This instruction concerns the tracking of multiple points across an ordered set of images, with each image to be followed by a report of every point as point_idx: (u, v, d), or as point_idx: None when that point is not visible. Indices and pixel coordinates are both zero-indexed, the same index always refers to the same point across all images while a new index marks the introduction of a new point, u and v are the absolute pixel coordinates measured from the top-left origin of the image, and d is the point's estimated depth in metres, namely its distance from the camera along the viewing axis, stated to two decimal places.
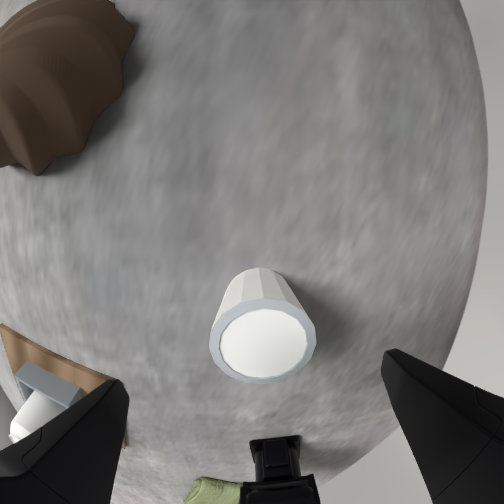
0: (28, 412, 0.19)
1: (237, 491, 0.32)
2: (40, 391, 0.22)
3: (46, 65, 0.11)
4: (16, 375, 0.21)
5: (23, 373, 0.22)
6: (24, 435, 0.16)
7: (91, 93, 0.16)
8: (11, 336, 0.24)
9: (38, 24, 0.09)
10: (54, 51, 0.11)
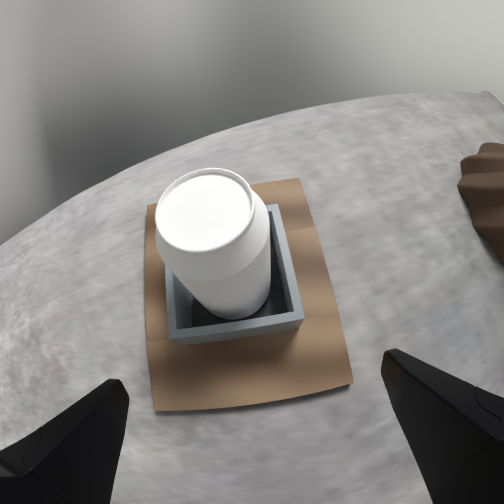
0: None
1: None
2: (289, 258, 0.19)
3: None
4: None
5: None
6: (260, 218, 0.13)
7: None
8: (301, 201, 0.26)
9: None
10: None
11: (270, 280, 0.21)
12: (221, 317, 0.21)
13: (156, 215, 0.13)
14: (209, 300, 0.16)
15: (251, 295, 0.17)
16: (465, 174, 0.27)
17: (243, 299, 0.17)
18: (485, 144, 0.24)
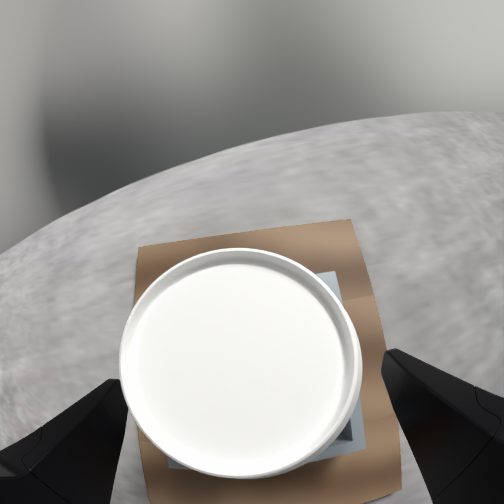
0: None
1: None
2: None
3: None
4: None
5: None
6: None
7: None
8: (355, 254, 0.18)
9: None
10: None
11: None
12: None
13: (121, 365, 0.05)
14: None
15: None
16: None
17: None
18: None
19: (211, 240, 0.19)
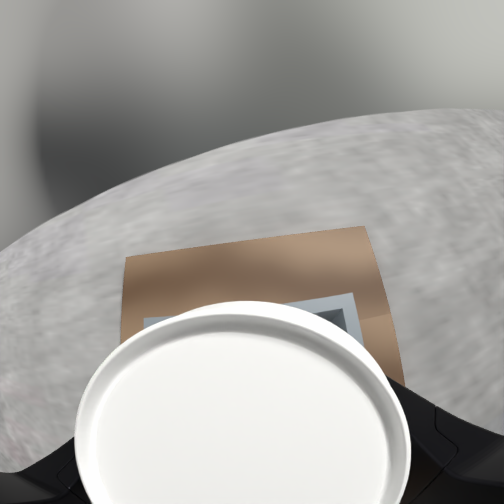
0: None
1: None
2: None
3: None
4: None
5: None
6: None
7: None
8: (370, 267, 0.16)
9: None
10: None
11: None
12: None
13: (80, 462, 0.02)
14: None
15: None
16: None
17: None
18: None
19: (207, 250, 0.17)
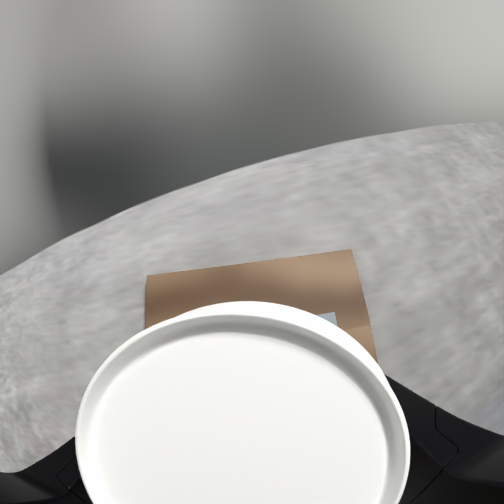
0: None
1: None
2: None
3: None
4: None
5: None
6: None
7: None
8: (354, 285, 0.19)
9: None
10: None
11: None
12: None
13: (80, 462, 0.03)
14: None
15: None
16: None
17: None
18: None
19: (217, 271, 0.20)
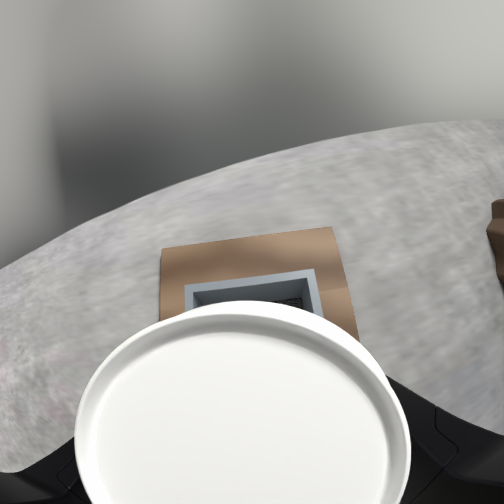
0: None
1: None
2: None
3: None
4: None
5: None
6: None
7: None
8: (334, 255, 0.23)
9: None
10: None
11: None
12: None
13: (80, 462, 0.02)
14: None
15: None
16: (495, 218, 0.24)
17: None
18: None
19: (221, 243, 0.25)
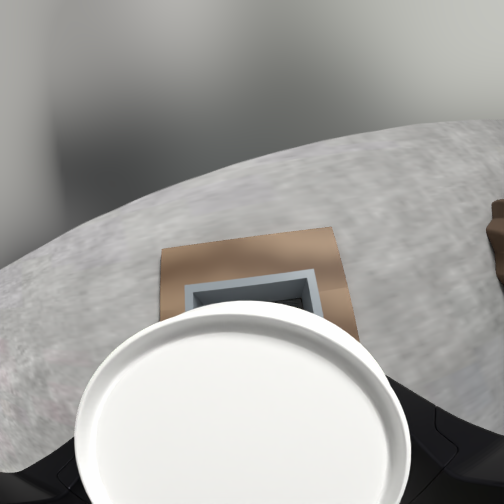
0: None
1: None
2: None
3: None
4: None
5: None
6: None
7: None
8: (334, 255, 0.23)
9: None
10: None
11: None
12: None
13: (79, 462, 0.02)
14: None
15: None
16: (495, 218, 0.24)
17: None
18: None
19: (221, 243, 0.25)
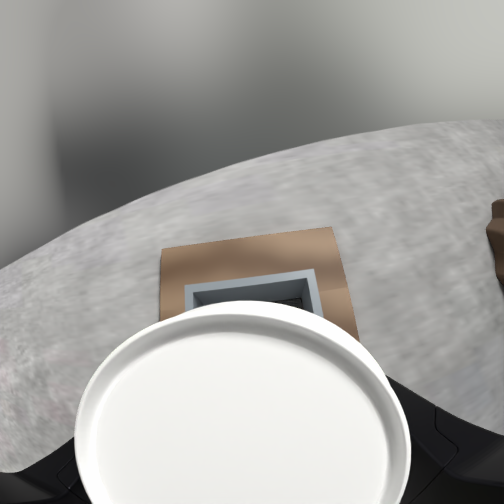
0: None
1: None
2: None
3: None
4: None
5: None
6: None
7: None
8: (334, 255, 0.23)
9: None
10: None
11: None
12: None
13: (79, 462, 0.02)
14: None
15: None
16: (495, 217, 0.24)
17: None
18: None
19: (221, 243, 0.25)
